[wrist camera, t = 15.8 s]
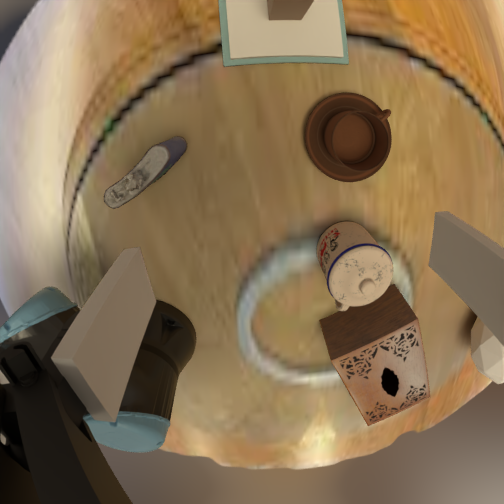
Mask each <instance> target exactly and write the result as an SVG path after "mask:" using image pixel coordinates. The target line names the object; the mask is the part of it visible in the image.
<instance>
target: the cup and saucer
mask: <svg viewBox="0 0 504 504" xmlns="http://www.w3.org/2000/svg"><path fill="white" fill-rule="evenodd" d="M390 114H391V111H390V110H389V109H386V110H383V111H382V110H381V109H380V108H379V106H378V105H376V104H375V103H374V102H373V101H372V100H370V99H368V98H366V97H364V96H362V95H359V94H355V93H339V94H335V95H332V96H330V97H328V98H326V99H324V100H323V101H322V102H320V103H319V104H318V105H317V106H316V107H315V109H314V110H313V111H312V113H311V115H310V117H309V119H308V122H307V125H306V131H305V141H306V147H307V150H308V153H309V155H310V158H311V159H312V161H313V162H314V164H315V165H316V166H317V168H318V169H319V170H320V171H322V172H323V173H324V174H325V175H327V176H329V177H331V178H333V179H335V180H338V181H343V182H356V181H361V180H364V179H366V178H368V177H370V176H372V175H373V174H375V173H376V172H377V171H378V170H379V169H380V168H381V167H382V166H383V164H384V163H385V161H386V159H387V157H388V155H389V152H390V148H391V129H390V125H389V122H388V120H387V118H388V117H389V116H390Z"/></svg>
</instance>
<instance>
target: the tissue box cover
mask: <svg viewBox="0 0 504 504" xmlns="http://www.w3.org/2000/svg"><path fill="white" fill-rule="evenodd" d="M319 321H320V324H321V328H322V331H323V335H324V338H325V341H326V345H327V348H328V352H329V356H330V359H331V362H332V363H333V365H334V367H335V369H336V370H337V372H338V374H339V376H340V377H341V379H342V381H343V383H344V384H345V386H346V388H347V390H348V391H349V393H350V395H351V397H352V398H353V400H354V402H355V404H356V405H357V407H358V409H359V411H360V413H361V414H362V416H363V418H364V420H365V421H366V423H367V425H368V426H369V425H372V424H374V423H377V422H379V421H381V420H384V419H386V418H388V417H390V416H393V415H395V414H397V413H399V412H401V411H403V410H405V409H407V408H409V407H412V406H414V405H416V404H417V403H419V402H421V401H423V400H425V399H427V398H429V397H430V390H429V382H428V374H427V367H426V361H425V354H424V348H423V343H422V337H421V332H420V327H419V322H418V318H417V317H416V315H415V314H414V312H413V311H412V309H411V308H410V306H409V305H408V303H407V302H406V300H405V299H404V297H403V296H402V294H401V293H400V292H399V290H398V289H397V287H396V286H395V284H393V285H391V286H389V287H388V288H387V290H386V291H385V292H384V293H383V294H382V295H381V296H380V297H379V298H378V299H376V300H375V301H373V302H371V303H369V304H366V305H363V306H349V308H348V309H347V310H346V311H339V312H337V313H334V314H332V315H330V316H328V317H326V318H324V319H321V320H319Z"/></svg>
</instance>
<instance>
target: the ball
mask: <svg viewBox="0 0 504 504" xmlns="http://www.w3.org/2000/svg"><path fill="white" fill-rule="evenodd" d="M471 357H472V359H473V361H474V363H475V365H476V367H477V369H478V371H479V372H480V373H482V374H483V375H485V376H486V377H488V378H489V379H491V380H492V381H494V382H496V383H497V384H499V383H504V346H503V345H502V344H501V343H500V342H499V340H498V339H497V338H496V337H495V336H494V334H493V333H492V332H491V331H490V330H489V329H488V327H487V326H486V325H485V324H484V323H483V322H482V321H481V320H480V318H479V317H477V319H476V321H475V323H474V325H473V327H472V329H471Z"/></svg>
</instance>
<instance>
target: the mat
mask: <svg viewBox="0 0 504 504" xmlns="http://www.w3.org/2000/svg"><path fill="white" fill-rule="evenodd" d="M337 3H338V10H339V18H340V26H341V35H342V44H343V55H344V57H343V58H326V57H267V58H249V59H237V60H231V57H230V45H229V33H228V21H227V9H226V0H219V13H220V26H221V38H222V50H223V62H224V67H227V66H238V65H251V64H269V63H328V64H346V65H348V64H349V60H348V48H347V39H346V30H345V21H344V13H343V6H342V0H337Z"/></svg>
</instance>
